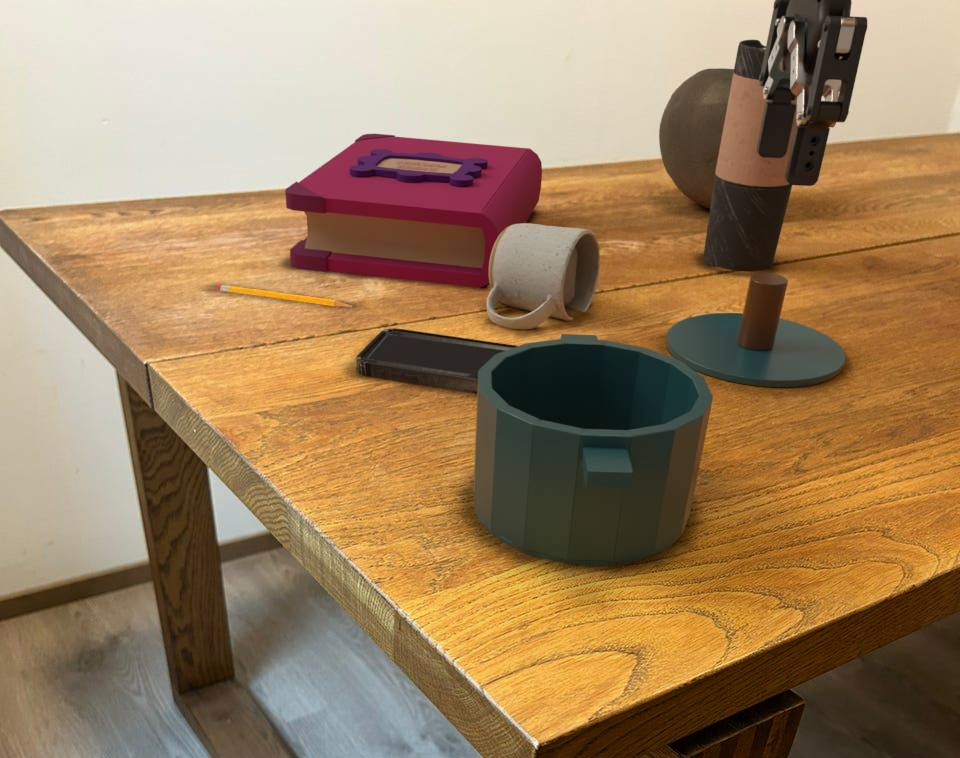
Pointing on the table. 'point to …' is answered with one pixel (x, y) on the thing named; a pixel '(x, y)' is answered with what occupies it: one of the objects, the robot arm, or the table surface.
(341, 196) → the book
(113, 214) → the table surface
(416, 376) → the phone
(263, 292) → the pencil
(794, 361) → the lid
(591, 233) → the ceramic mug
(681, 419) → the pot
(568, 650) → the table surface
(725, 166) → the travel mug
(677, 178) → the brown textured sphere
